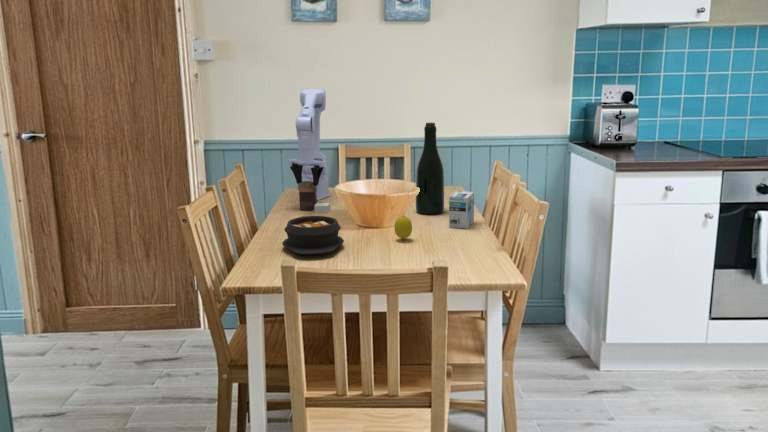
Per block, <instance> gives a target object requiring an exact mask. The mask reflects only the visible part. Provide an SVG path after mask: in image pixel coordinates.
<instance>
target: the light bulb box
mask: <svg viewBox="0 0 768 432" xmlns="http://www.w3.org/2000/svg"><path fill="white" fill-rule="evenodd" d="M448 200H449V201H448V203H449V204H448V205H449V207H448V210H449V211H448V228H453V229H455V228H456V229H464V230H466V229H467V230H468V229H470V228H469V227H471V226H472V224H473V223H474V221H475V192H474V191H465V190H464V191H462V190H455V191H454V192H453V193H452V194H451V195H449V197H448Z"/></svg>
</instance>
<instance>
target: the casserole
mask: <svg viewBox="0 0 768 432" xmlns="http://www.w3.org/2000/svg"><path fill="white" fill-rule="evenodd" d="M341 228H342V227H341V225H340V223H339V222H338V220H337V218H334V217H331V216H324V215H307V216H299V217H295V218H292V219H289V220H288V221H287V224H286V226H285V228H284V232H285V233H286V235H287V238H285V239H284V240H283V241H282V244H281V245H282V246H283V247H284V248H287V249H289V250H290V251H292V252H294V253H295V254H297V255H323V254H329V253H333V252H335V250H336V249H337V248H338V247H340V246H342V245H343V244H344V242H345V240H344V239H343V238H342V237H341V236H339V231H340V230H341Z"/></svg>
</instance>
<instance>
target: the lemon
mask: <svg viewBox="0 0 768 432" xmlns="http://www.w3.org/2000/svg"><path fill="white" fill-rule="evenodd" d="M412 232H413V225H412V220H411V219H410V218H409V217H408V216H406V215H403V214H402V215H401V216H399V217H398V218H397V219H395V222H394V233H395V235H396V236H397V237H398V238H400V239H401V240H402V241H405V240H406V239H407V238H409V237H410V236H411V235H412Z"/></svg>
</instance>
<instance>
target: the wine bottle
mask: <svg viewBox="0 0 768 432" xmlns="http://www.w3.org/2000/svg"><path fill="white" fill-rule="evenodd" d="M437 129H438V128H437V126H436V123H435V122H426V123H425V125H424V129H423V130H424V131H423V132H424V136H423V137H424V138H423V149H422V152H421V155H420V158H419V160H418V163H417V166H416V174H415V175H416V178H415V179H416V180H415V183H416V184H415V188H416V187H419V188H420V192H419V194H418V195H417V196H416V195H415V211H416V212H417V213H418V214H420V215H428V216H429V215H431V216H432V215H441V214H442V213H443V212H444V211H445V172H444V171H445V170H444V165H443V162H442V159H441V156H440V153H439V150H438V145H437Z"/></svg>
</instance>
